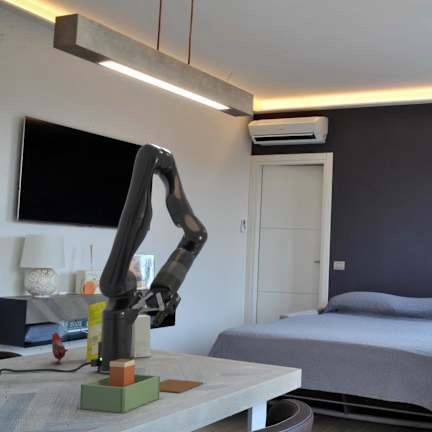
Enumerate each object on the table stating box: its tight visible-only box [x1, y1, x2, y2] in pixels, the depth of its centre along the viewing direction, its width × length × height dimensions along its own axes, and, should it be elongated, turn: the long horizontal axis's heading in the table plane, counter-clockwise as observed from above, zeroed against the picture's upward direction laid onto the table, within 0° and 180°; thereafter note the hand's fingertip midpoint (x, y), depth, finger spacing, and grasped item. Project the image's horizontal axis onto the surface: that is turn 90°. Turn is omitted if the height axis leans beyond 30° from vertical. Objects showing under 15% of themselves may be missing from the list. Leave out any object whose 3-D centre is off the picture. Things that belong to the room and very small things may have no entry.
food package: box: [85, 300, 107, 363], centre depth 212 cm, size 15×1×20 cm, turn 5°
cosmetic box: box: [131, 314, 151, 358], centre depth 220 cm, size 8×6×15 cm
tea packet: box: [109, 359, 136, 387], centre depth 155 cm, size 5×4×11 cm
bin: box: [79, 373, 161, 414], centre depth 155 cm, size 13×15×6 cm
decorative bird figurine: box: [51, 332, 69, 365], centre depth 203 cm, size 3×18×10 cm, turn 43°
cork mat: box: [159, 378, 204, 394], centre depth 174 cm, size 12×12×1 cm
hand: (141, 323), depth 164 cm, fingers open, 8 cm apart
